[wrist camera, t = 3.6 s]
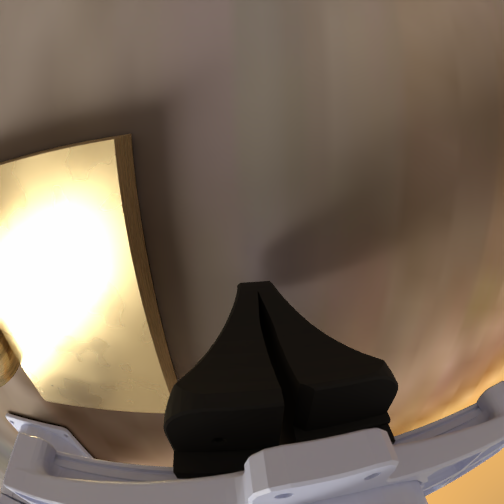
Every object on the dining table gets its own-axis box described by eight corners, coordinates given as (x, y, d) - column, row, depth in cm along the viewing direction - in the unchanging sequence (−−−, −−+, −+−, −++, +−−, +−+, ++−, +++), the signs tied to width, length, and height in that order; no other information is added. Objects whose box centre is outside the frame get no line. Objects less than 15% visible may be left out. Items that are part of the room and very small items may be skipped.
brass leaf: (178, 386, 16) (174, 449, 13) (7, 371, 15) (-14, 414, 11) (131, 133, 10) (83, 150, 6) (-68, 187, 9) (-116, 217, 5)
